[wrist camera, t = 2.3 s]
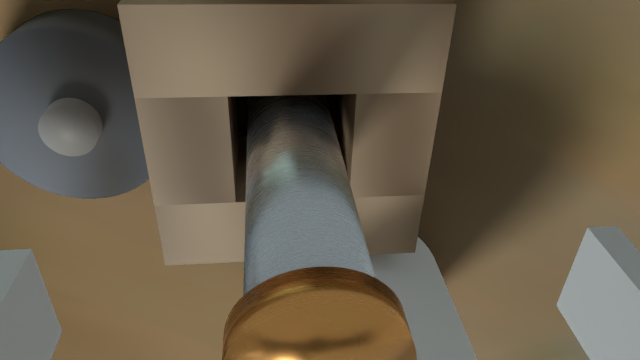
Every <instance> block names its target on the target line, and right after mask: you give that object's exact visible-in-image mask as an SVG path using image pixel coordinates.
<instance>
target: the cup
mask: <svg viewBox="0 0 640 360" xmlns="http://www.w3.org/2000/svg"><path fill="white" fill-rule="evenodd" d="M370 259H371V262H372V266H373V269H374V273H375V277H376V278H377V279H378V280H380V281H381V282H383V283H384V284H386V285H387V286H388V287H389V288H390V289H391V290H392V291H393V292H394V293H395V294H396V296H397V297H398V299H399V300H400V302H401V304H402V307H403V310H404V313H405V316H406V319H407V323H408V326H409V329H410V332H411V335H412V338H413V342H414V345H415V348H416V354H417V360H477V357H476V355H475V353H474V350H473V348H472V346H471V343H470V341H469V339H468V336H467V334H466V331H465V329H464V327H463V324H462V322H461V320H460V317H459V315H458V313H457V310H456V308H455V306H454V303H453V301H452V298H451V296H450V294H449V291H448V289H447V287H446V284H445V282H444V280H443V277H442V275H441V273H440V270H439V268H438V265H437V263H436V261H435V258H434V256H433V255H432V253H431V251H430V250H429V248H428V247H427V246H426V244H425V243H424V242H423V241H422V240H421V239H420V238H419V237H418V238H417V244H416V250H415V253H398V254H379V255H370Z"/></svg>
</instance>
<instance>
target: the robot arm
mask: <svg viewBox="0 0 640 360" xmlns="http://www.w3.org/2000/svg"><path fill="white" fill-rule="evenodd" d="M557 307H558V309H559V310H560V312H561V314H562V315H563V317H564V318H565V320H566V322H567V323H568V325H569V326H570V328H571V330H572V331H573V333H574V334H575V336H576V338H577V339H578V341H579V343H580V344H581V346H582V347H583V349H584V351H585V352H586V354H587V355H588V357H589V359H590V360H640V252H639V250H638V249H637V248H636V247H635V246H634V245H633V244H632V243H631V241H630V240H629V239H628V238H627V237H626V236H625V235H624V234H623V233H622V231H621V230H620V229H619V228H618V227H617V226H610V227H588V228H587V230H586V233H585V235H584V238H583V240H582V243H581V245H580V248H579V250H578V252H577V255H576V257H575V260H574V262H573V265H572V267H571V270H570V272H569V275H568V277H567V280H566V282H565V285H564V287H563V290H562V292H561V295H560V297H559V300H558V302H557ZM61 333H62V330H61V327H60V325H59V322H58V319H57V317H56V314H55V311H54V308H53V306H52V303H51V300H50V298H49V295H48V292H47V290H46V287H45V284H44V282H43V279H42V276H41V273H40V271H39V268H38V265H37V263H36V260H35V257H34V255H33V252H32V249H22V250H0V360H51V358H52V356H53V353H54V351H55V348H56V345H57V343H58V340H59V338H60V335H61Z"/></svg>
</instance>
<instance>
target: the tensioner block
mask: <svg viewBox="0 0 640 360" xmlns="http://www.w3.org/2000/svg"><path fill="white" fill-rule="evenodd" d="M117 7H118V12H119V18H120V21H119V20H117V19H115V18H112V17H110V16H107V15H104V14H100V13H97V12H92V11H87V10H77V9H66V10H56V11H51V12H46V13H43V14H41V15H38V16H35V17H33V18H31V19H30V20H28V21H26V22H24V23H23V24H22V25H21V26H19V27H18V28H17V29H15V30H14V31H13V32H12V33H11V34H9V35H8V36H7V37H6V38H5V39H3V40H2V41H1V42H0V162H1V163H2V164H3V165H4V166H5V167H6V168H7V169H9V170H10V171H11V172H12V173H14V174H15V175H17V176H18V177H20V178H21V179H23V180H24V181H26V182H28V183H30V184H32V185H34V186H36V187H38V188H41V189H43V190H46V191H48V192H52V193H55V194H58V195H63V196H67V197H73V198H82V199H96V198H106V197H111V196H116V195H120V194H123V193H126V192H128V191H130V190H132V189H135V188H137V187H138V186H140V185H141V184H143V183H144V182H146V181H147V180H148V179H149V180H150V185H151V191H152V196H153V201H154V207H155V212H156V218H157V223H158V228H159V234H160V239H161V245H162V250H163V255H164V261H165V266H167V265H186V264H205V263H225V262H244V248H245V203H246V157H247V136H239V130H238V115H237V100H236V96H282V95H333V94H334V113H333V124H334V128H335V131H336V135H337V139H338V142H339V146H340V149H341V153H342V157H343V160H344V164H345V168H346V171H347V175H348V179H349V182H350V186H351V189H352V193H353V197H354V200H355V204H356V208H357V211H358V215H359V219H360V222H361V226H362V229H363V233H364V237H365V240H366V244H367V248H368V251H369V255H379V254H398V253H415V250H416V244H417V238H418V232H419V226H420V220H421V214H422V209H423V203H424V197H425V191H426V185H427V179H428V173H429V167H430V161H431V155H432V149H433V143H434V137H435V131H436V125H437V120H438V114H439V108H440V102H441V96H442V90H443V84H444V78H445V72H446V66H447V60H448V54H449V48H450V42H451V36H452V31H453V25H454V19H455V13H456V7H457V4H456V3H455V2H454V1H453V0H120V2H119V3H118V4H117Z"/></svg>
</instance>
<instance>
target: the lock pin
mask: <svg viewBox="0 0 640 360" xmlns="http://www.w3.org/2000/svg"><path fill="white" fill-rule="evenodd" d="M222 360H417V354H416V348H415V345H414V342H413V338H412V335H411V332H410V329H409V326H408V323H407V319H406V316H405V313H404V310H403V307H402V304H401V302H400V300H399V299H398V297H397V296H396V294H395V293H394V292H393V291H392V290H391V289H390V288H389V287H388V286H387V285H386V284H384V283H383V282H381V281H380V280H378V279H377V278H376V277H375V273H374V269H373V266H372V262H371V259H370V255H369V251H368V248H367V244H366V240H365V237H364V233H363V229H362V226H361V222H360V219H359V215H358V211H357V208H356V204H355V200H354V197H353V193H352V189H351V186H350V182H349V179H348V175H347V171H346V168H345V164H344V160H343V157H342V153H341V149H340V146H339V142H338V139H337V135H336V131H335V128H334V124H333V120H332V117H331V113H330V110H329V106H328V102H327V99H326V95H282V96H248V111H247V157H246V203H245V248H244V294H243V297H242V298H241V299H240V300H239V301H238V302H237V303H236V305H235V306H234V307H233V309H232V310H231V312H230V314H229V315H228V318H227V321H226V323H225V328H224V337H223V353H222Z"/></svg>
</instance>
